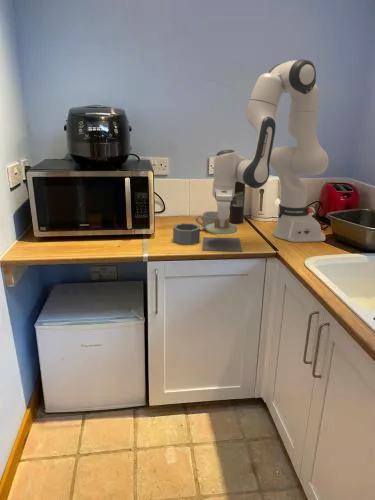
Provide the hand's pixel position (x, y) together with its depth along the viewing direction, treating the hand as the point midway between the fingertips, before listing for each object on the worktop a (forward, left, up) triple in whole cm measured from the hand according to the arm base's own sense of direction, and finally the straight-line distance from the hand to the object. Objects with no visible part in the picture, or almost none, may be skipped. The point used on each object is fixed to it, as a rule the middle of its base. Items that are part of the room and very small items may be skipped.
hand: (221, 225), depth 156 cm
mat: (0, 0, -9) cm, 9 cm away
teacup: (+5, -20, -9) cm, 22 cm away
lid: (0, 0, -2) cm, 2 cm away
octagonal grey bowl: (+15, -4, -9) cm, 18 cm away
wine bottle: (-8, -35, -9) cm, 37 cm away
